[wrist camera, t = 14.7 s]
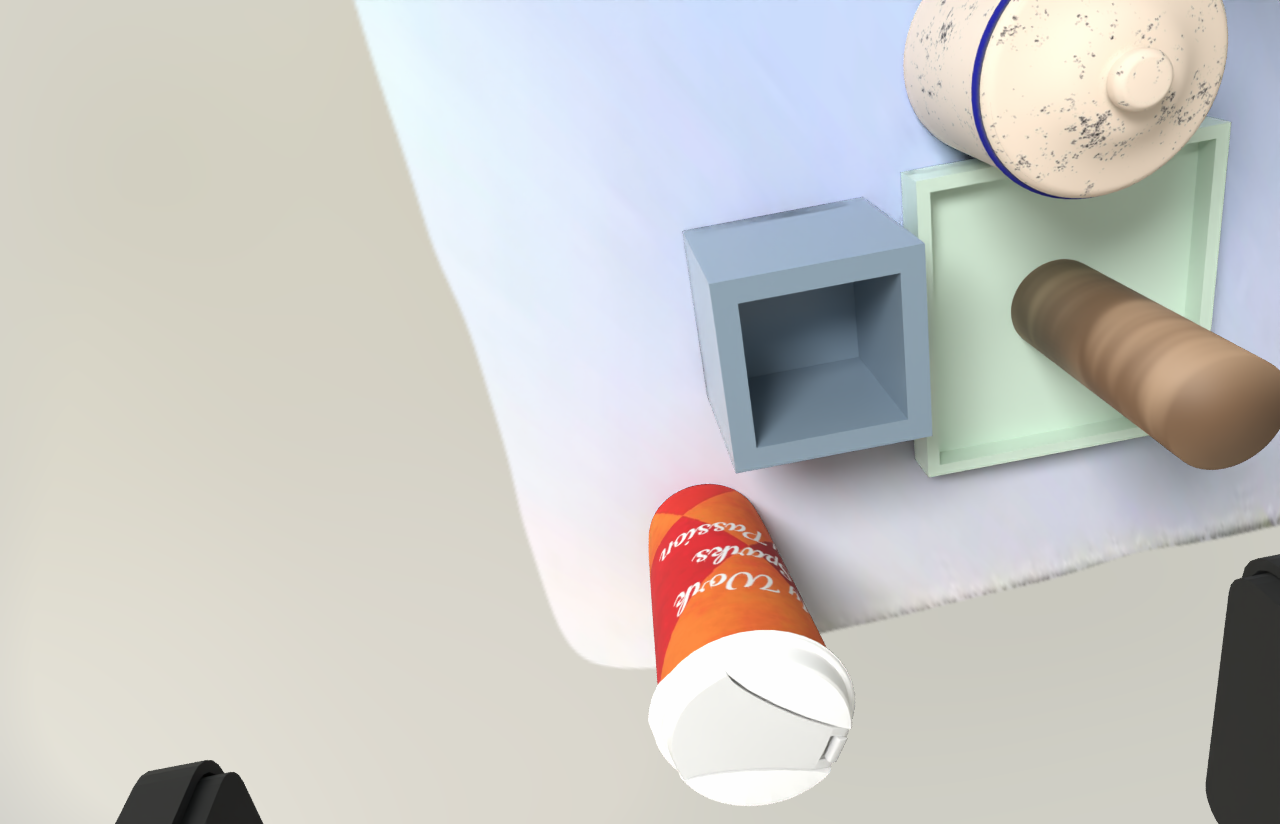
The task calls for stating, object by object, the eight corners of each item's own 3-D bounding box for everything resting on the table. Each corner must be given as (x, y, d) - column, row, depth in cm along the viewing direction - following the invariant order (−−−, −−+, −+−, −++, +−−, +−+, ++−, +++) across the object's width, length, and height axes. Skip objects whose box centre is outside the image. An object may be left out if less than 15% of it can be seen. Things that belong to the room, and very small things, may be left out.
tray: (900, 172, 44) (916, 181, 42) (1203, 115, 44) (1231, 122, 42) (914, 458, 50) (928, 477, 48) (1178, 408, 50) (1201, 425, 48)
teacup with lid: (1118, 105, 43) (1301, 152, 33) (927, 190, 44) (1046, 262, 34) (1060, -182, 38) (1254, -235, 28) (846, -79, 39) (955, -93, 29)
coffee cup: (803, 482, 50) (897, 674, 37) (751, 608, 53) (820, 829, 40) (649, 447, 49) (689, 636, 35) (605, 580, 52) (626, 800, 38)
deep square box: (682, 230, 44) (708, 283, 37) (863, 196, 44) (924, 243, 37) (707, 395, 48) (735, 473, 40) (874, 364, 48) (932, 436, 40)
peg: (1009, 269, 45) (1170, 371, 34) (1101, 250, 45) (1295, 345, 33) (1011, 355, 47) (1165, 480, 35) (1100, 336, 47) (1283, 456, 35)
